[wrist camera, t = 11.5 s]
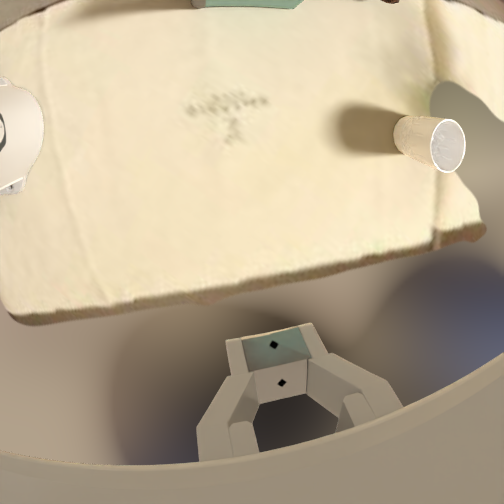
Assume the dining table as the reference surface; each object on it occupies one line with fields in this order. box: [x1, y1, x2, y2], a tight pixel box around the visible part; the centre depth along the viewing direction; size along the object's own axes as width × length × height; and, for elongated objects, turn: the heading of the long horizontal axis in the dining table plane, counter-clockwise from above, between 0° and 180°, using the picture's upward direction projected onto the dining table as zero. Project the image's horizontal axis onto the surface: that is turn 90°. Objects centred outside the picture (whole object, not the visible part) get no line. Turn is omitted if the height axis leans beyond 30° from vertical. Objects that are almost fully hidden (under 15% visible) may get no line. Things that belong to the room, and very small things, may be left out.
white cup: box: [393, 116, 465, 173], centre depth 39 cm, size 8×8×10 cm
